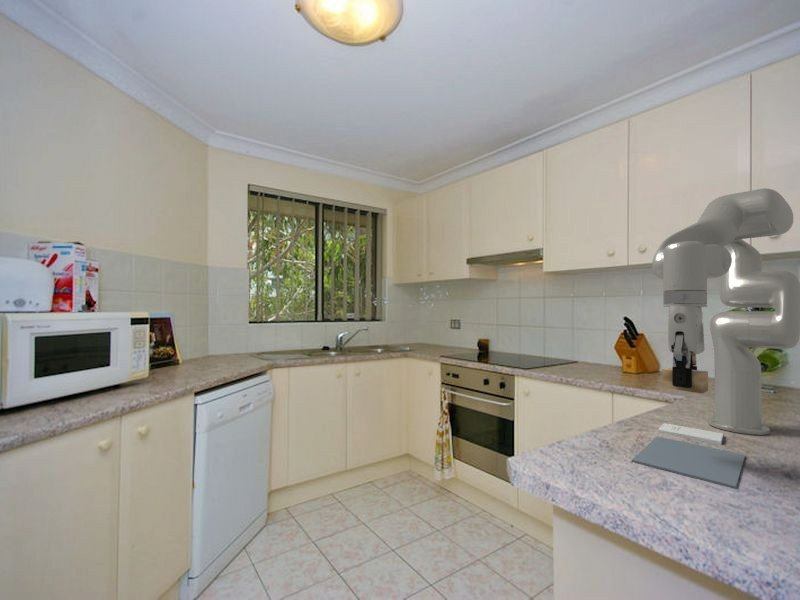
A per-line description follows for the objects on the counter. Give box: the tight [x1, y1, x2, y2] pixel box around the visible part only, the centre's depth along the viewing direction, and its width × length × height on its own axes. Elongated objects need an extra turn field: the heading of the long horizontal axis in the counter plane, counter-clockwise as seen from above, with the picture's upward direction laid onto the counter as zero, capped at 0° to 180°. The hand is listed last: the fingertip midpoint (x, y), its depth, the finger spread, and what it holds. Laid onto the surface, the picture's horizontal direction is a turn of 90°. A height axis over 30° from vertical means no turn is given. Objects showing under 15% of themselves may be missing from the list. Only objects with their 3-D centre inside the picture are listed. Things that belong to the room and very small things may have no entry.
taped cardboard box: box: [661, 367, 709, 394], centre depth 81 cm, size 7×5×4 cm
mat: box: [631, 436, 746, 489], centre depth 80 cm, size 22×16×1 cm
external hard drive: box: [657, 422, 725, 446], centre depth 97 cm, size 2×8×12 cm
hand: (684, 384), depth 81 cm, fingers closed on taped cardboard box, 5 cm apart
